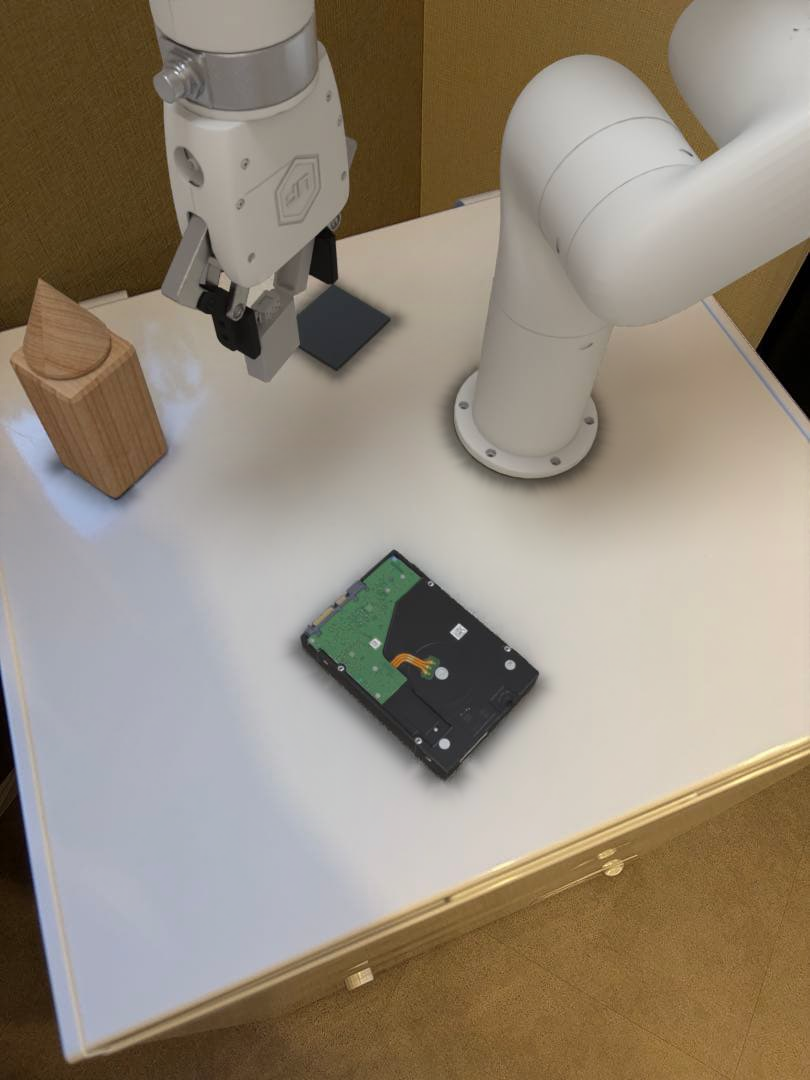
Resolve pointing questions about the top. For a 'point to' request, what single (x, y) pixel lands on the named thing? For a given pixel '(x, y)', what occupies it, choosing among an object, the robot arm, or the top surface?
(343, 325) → the mat
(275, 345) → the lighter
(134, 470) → the decorative item
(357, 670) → the disk drive
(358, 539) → the top surface
